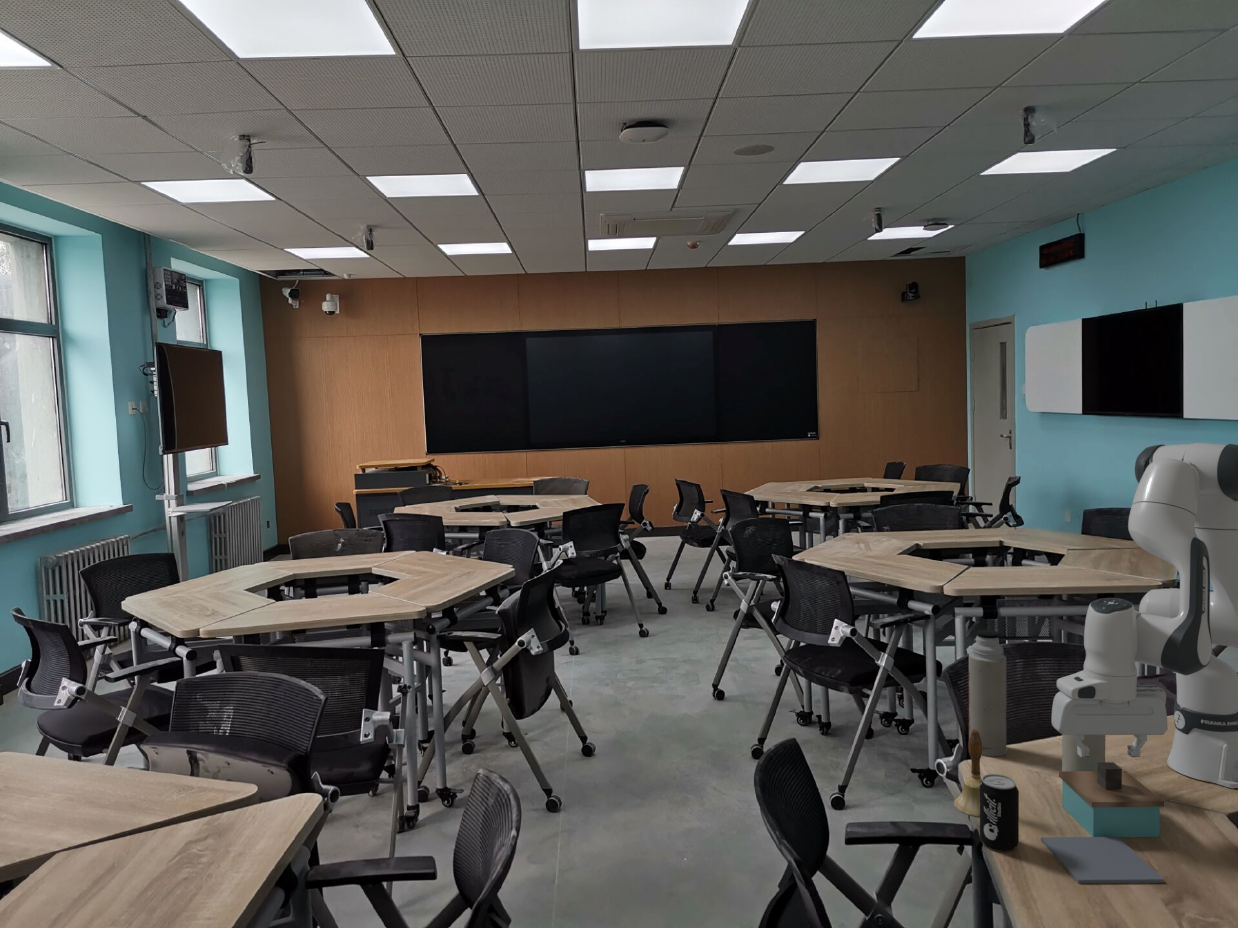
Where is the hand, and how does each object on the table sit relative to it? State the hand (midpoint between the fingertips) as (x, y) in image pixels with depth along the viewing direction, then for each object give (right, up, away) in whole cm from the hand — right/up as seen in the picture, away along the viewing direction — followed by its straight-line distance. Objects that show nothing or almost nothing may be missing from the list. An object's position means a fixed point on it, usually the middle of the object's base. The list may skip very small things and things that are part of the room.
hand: (1108, 755), depth 162 cm
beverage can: (-24, -15, -6) cm, 28 cm away
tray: (-9, -14, -12) cm, 21 cm away
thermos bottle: (-8, -11, +36) cm, 38 cm away
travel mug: (+4, -12, +17) cm, 21 cm away
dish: (+1, -13, +1) cm, 13 cm away
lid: (+1, -7, +1) cm, 7 cm away
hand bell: (-22, -14, +8) cm, 27 cm away
